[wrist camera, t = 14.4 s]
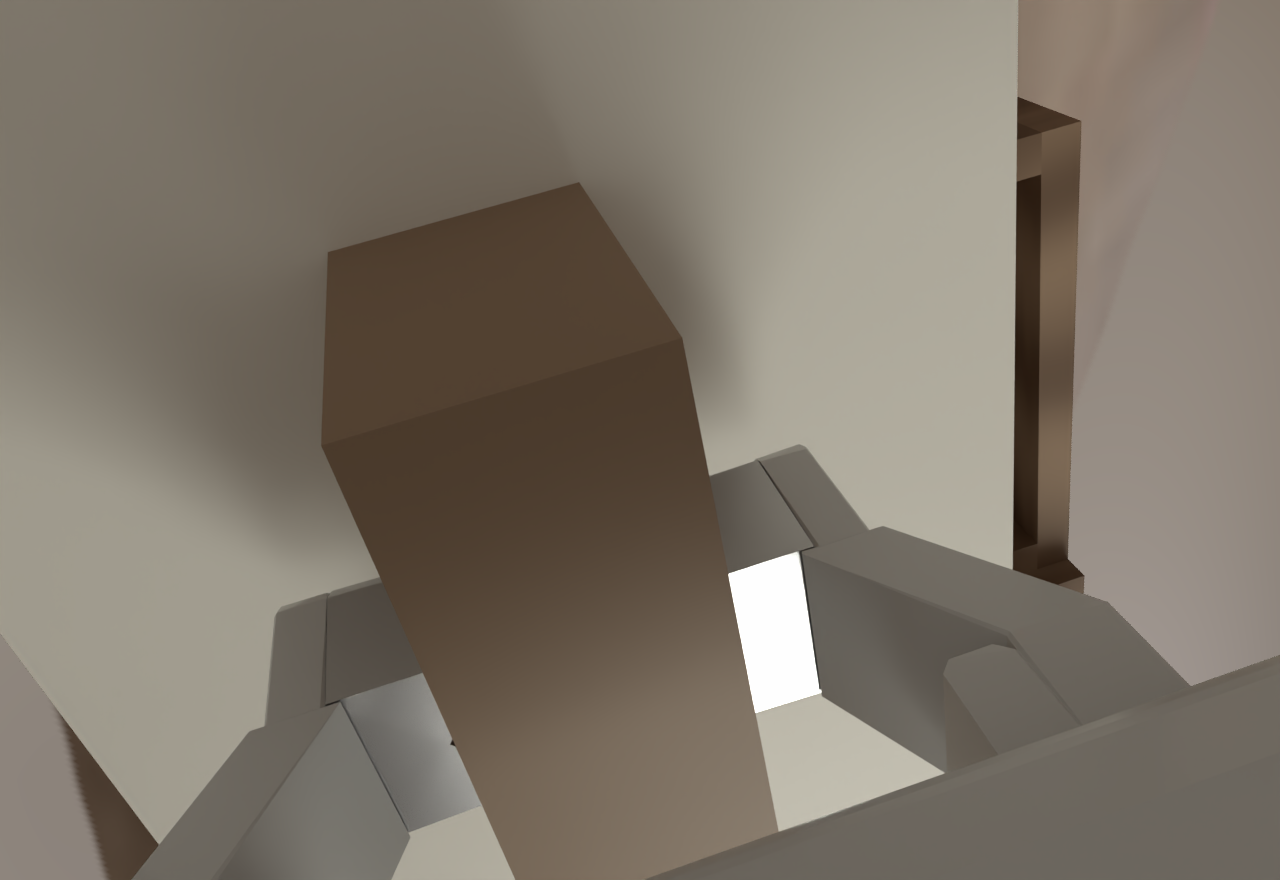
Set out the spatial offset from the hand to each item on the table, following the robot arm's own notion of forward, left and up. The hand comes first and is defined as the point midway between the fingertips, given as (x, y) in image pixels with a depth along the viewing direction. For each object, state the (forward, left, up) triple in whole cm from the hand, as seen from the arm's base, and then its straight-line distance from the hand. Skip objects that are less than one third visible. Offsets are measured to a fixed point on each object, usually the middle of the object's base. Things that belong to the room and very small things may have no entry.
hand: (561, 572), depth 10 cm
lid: (0, 0, -2) cm, 2 cm away
